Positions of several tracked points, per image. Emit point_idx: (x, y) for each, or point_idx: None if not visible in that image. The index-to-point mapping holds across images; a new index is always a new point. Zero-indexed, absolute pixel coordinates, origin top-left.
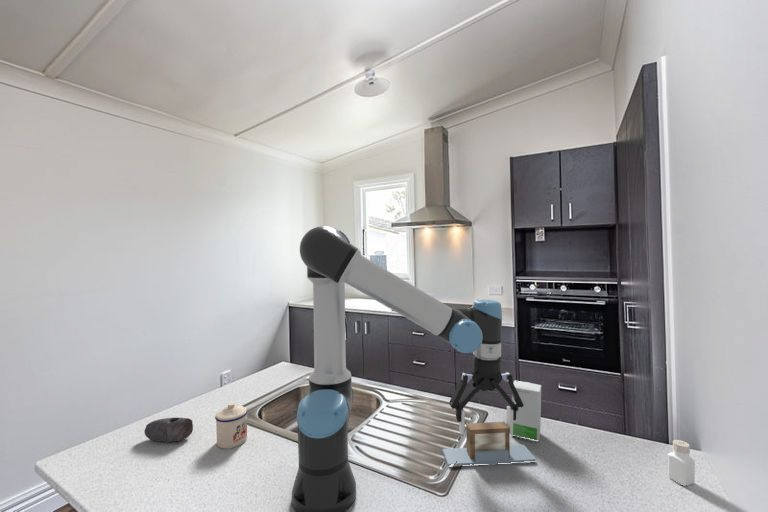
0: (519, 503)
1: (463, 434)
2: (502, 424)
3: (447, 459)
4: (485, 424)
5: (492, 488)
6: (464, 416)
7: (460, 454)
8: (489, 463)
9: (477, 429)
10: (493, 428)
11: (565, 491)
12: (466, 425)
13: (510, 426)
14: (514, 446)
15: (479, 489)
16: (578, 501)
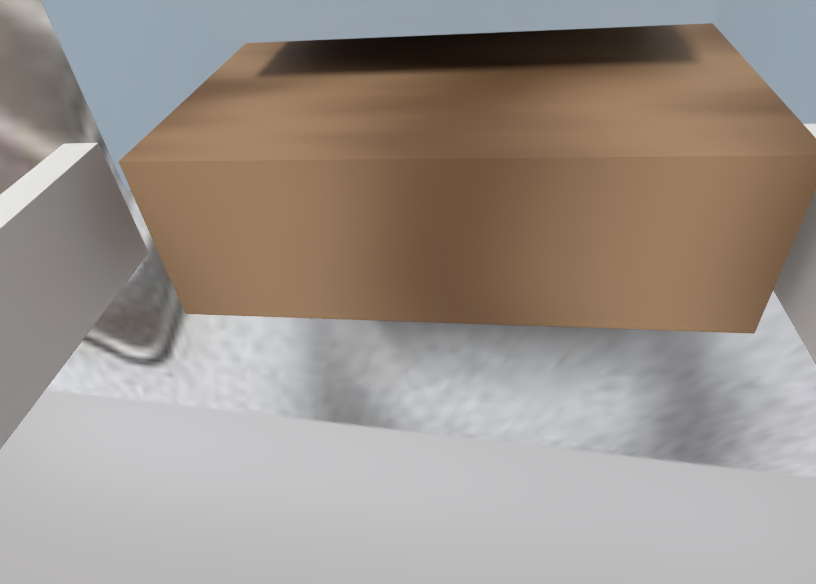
0: (496, 433)
1: (136, 253)
2: (716, 238)
3: (109, 137)
4: (422, 217)
5: (398, 353)
6: (3, 443)
7: (209, 72)
8: None
9: (280, 313)
10: (504, 320)
11: (800, 410)
12: (136, 152)
13: (795, 322)
14: None
15: (327, 351)
16: (799, 459)
